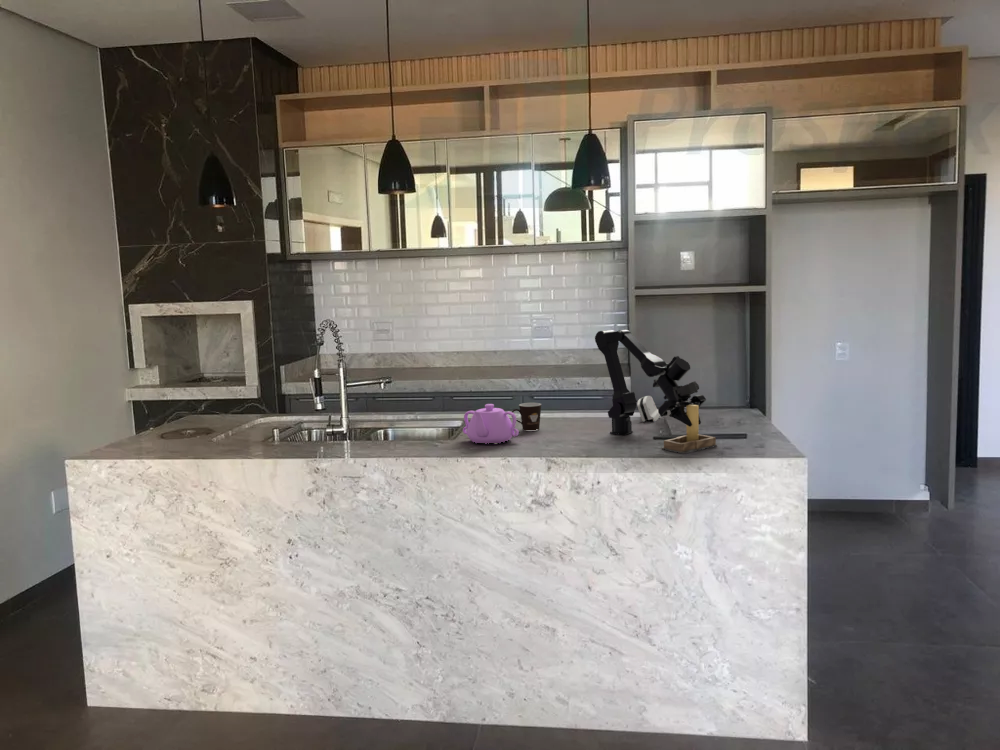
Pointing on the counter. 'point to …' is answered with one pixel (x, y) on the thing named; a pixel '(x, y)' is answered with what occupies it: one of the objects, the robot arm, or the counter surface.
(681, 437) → the frame
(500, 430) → the teapot
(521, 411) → the coffee mug
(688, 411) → the peg
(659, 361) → the robot arm
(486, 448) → the counter surface
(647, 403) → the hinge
